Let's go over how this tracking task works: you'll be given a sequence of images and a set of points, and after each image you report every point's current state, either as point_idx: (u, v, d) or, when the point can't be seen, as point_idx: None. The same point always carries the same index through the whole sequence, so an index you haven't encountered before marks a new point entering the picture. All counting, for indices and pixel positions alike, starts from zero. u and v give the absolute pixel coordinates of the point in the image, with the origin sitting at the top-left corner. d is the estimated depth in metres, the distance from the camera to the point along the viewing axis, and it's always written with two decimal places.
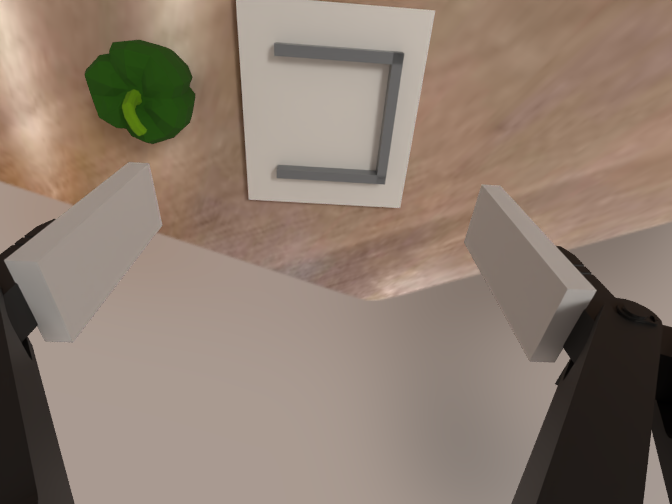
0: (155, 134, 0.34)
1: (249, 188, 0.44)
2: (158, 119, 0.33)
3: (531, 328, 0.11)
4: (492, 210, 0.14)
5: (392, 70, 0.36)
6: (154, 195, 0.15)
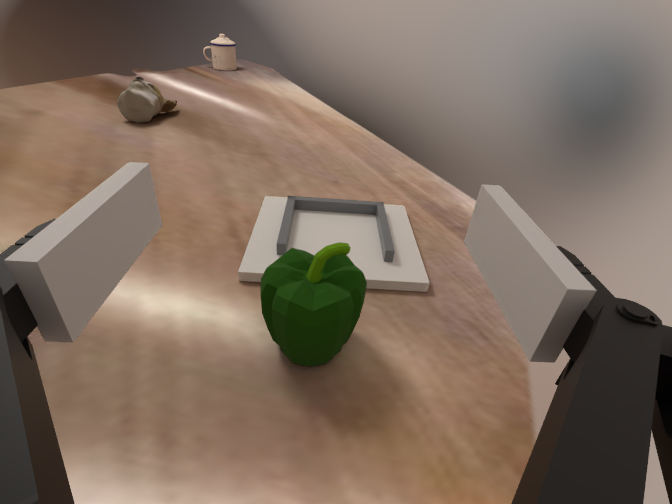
0: (353, 267, 0.30)
1: (416, 281, 0.40)
2: (335, 259, 0.31)
3: (531, 328, 0.11)
4: (492, 210, 0.14)
5: (298, 199, 0.50)
6: (154, 195, 0.15)
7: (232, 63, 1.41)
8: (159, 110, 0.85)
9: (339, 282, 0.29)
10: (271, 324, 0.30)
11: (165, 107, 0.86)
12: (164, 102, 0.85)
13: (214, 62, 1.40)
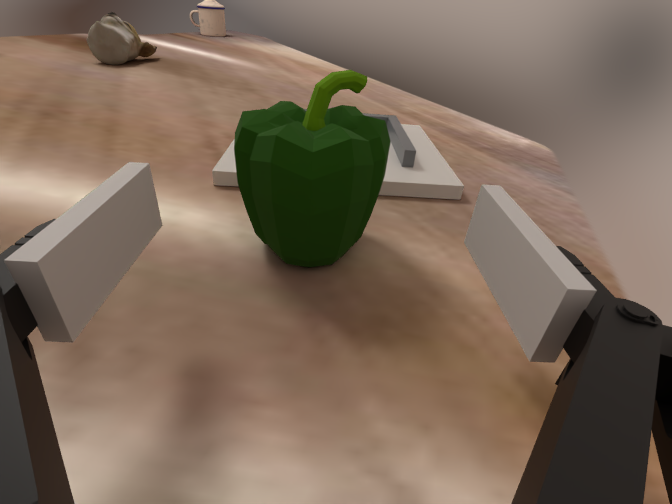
0: None
1: (446, 184, 0.30)
2: (344, 110, 0.21)
3: (531, 328, 0.11)
4: (492, 210, 0.14)
5: None
6: (154, 195, 0.15)
7: (221, 28, 1.32)
8: (136, 53, 0.76)
9: (352, 130, 0.19)
10: (252, 203, 0.21)
11: (143, 50, 0.77)
12: (141, 44, 0.75)
13: (202, 27, 1.31)
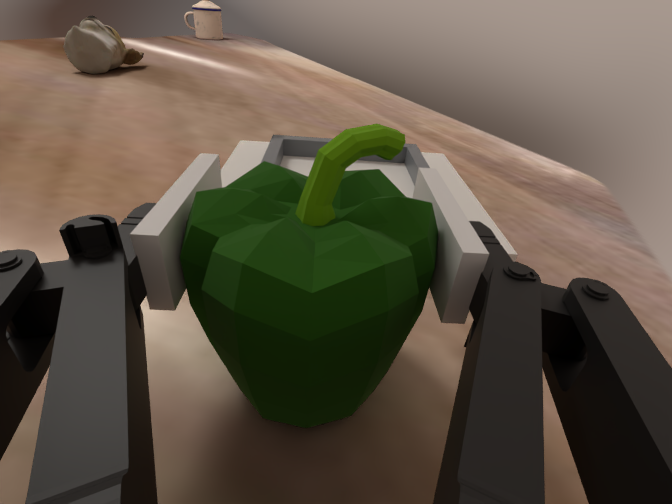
0: (405, 197, 0.13)
1: None
2: (363, 180, 0.13)
3: (443, 292, 0.12)
4: (424, 190, 0.15)
5: (288, 138, 0.33)
6: (220, 184, 0.16)
7: (217, 31, 1.24)
8: (120, 61, 0.68)
9: (380, 225, 0.11)
10: None
11: (128, 58, 0.69)
12: (126, 50, 0.68)
13: (197, 30, 1.23)
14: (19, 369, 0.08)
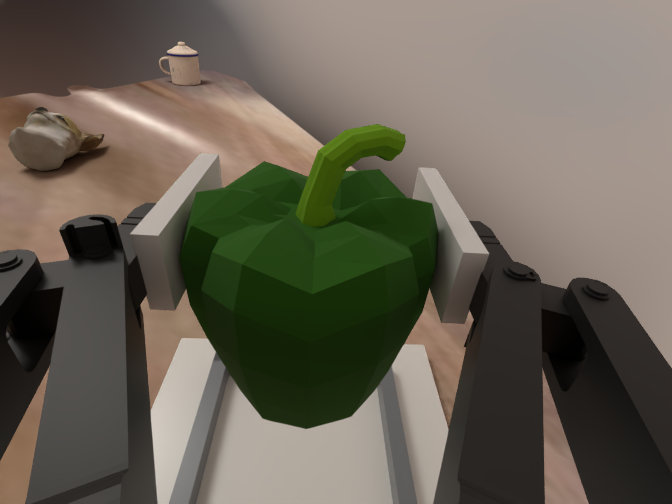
0: (405, 197, 0.13)
1: None
2: (363, 180, 0.13)
3: (443, 292, 0.12)
4: (424, 190, 0.15)
5: None
6: (220, 184, 0.16)
7: (194, 76, 1.18)
8: (76, 150, 0.62)
9: (380, 226, 0.11)
10: None
11: (85, 146, 0.63)
12: (82, 139, 0.62)
13: (172, 76, 1.17)
14: (19, 369, 0.08)
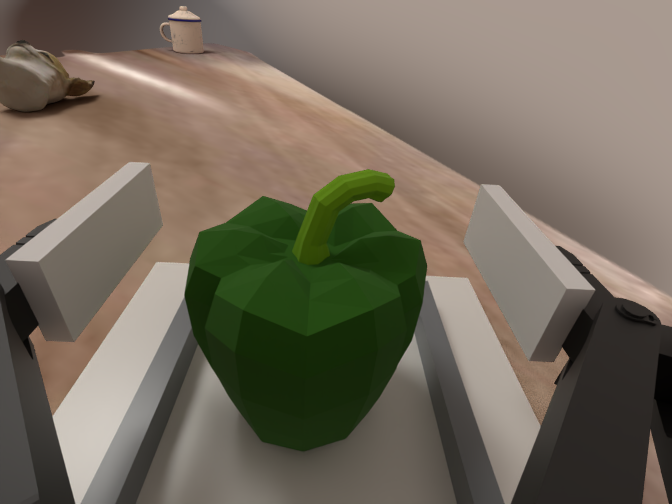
0: (395, 232, 0.14)
1: None
2: (356, 216, 0.14)
3: (530, 328, 0.11)
4: (491, 210, 0.14)
5: None
6: (155, 195, 0.15)
7: (197, 44, 1.11)
8: (62, 93, 0.56)
9: (371, 264, 0.12)
10: None
11: (72, 89, 0.57)
12: (69, 81, 0.56)
13: (174, 43, 1.11)
14: None
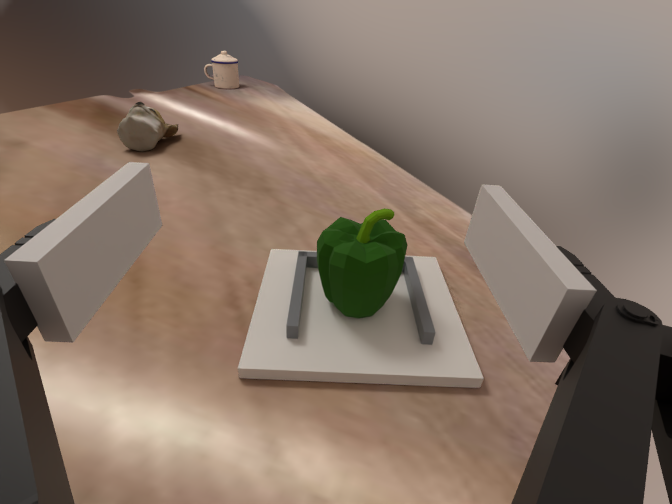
0: (395, 231, 0.35)
1: (466, 376, 0.31)
2: (379, 225, 0.36)
3: (531, 328, 0.11)
4: (492, 210, 0.14)
5: (311, 256, 0.42)
6: (154, 195, 0.15)
7: (234, 81, 1.34)
8: (161, 136, 0.79)
9: (385, 243, 0.34)
10: (326, 281, 0.35)
11: (168, 133, 0.80)
12: (167, 127, 0.79)
13: (215, 80, 1.34)
14: None
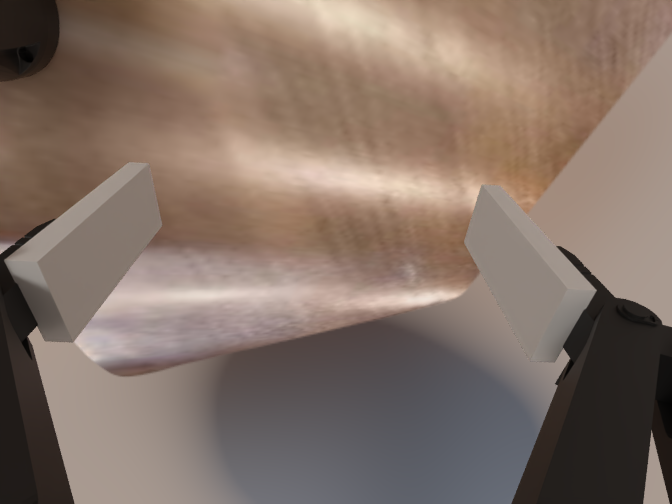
0: None
1: None
2: None
3: (531, 328, 0.11)
4: (492, 210, 0.14)
5: None
6: (154, 195, 0.15)
7: None
8: None
9: None
10: None
11: None
12: None
13: None
14: None
